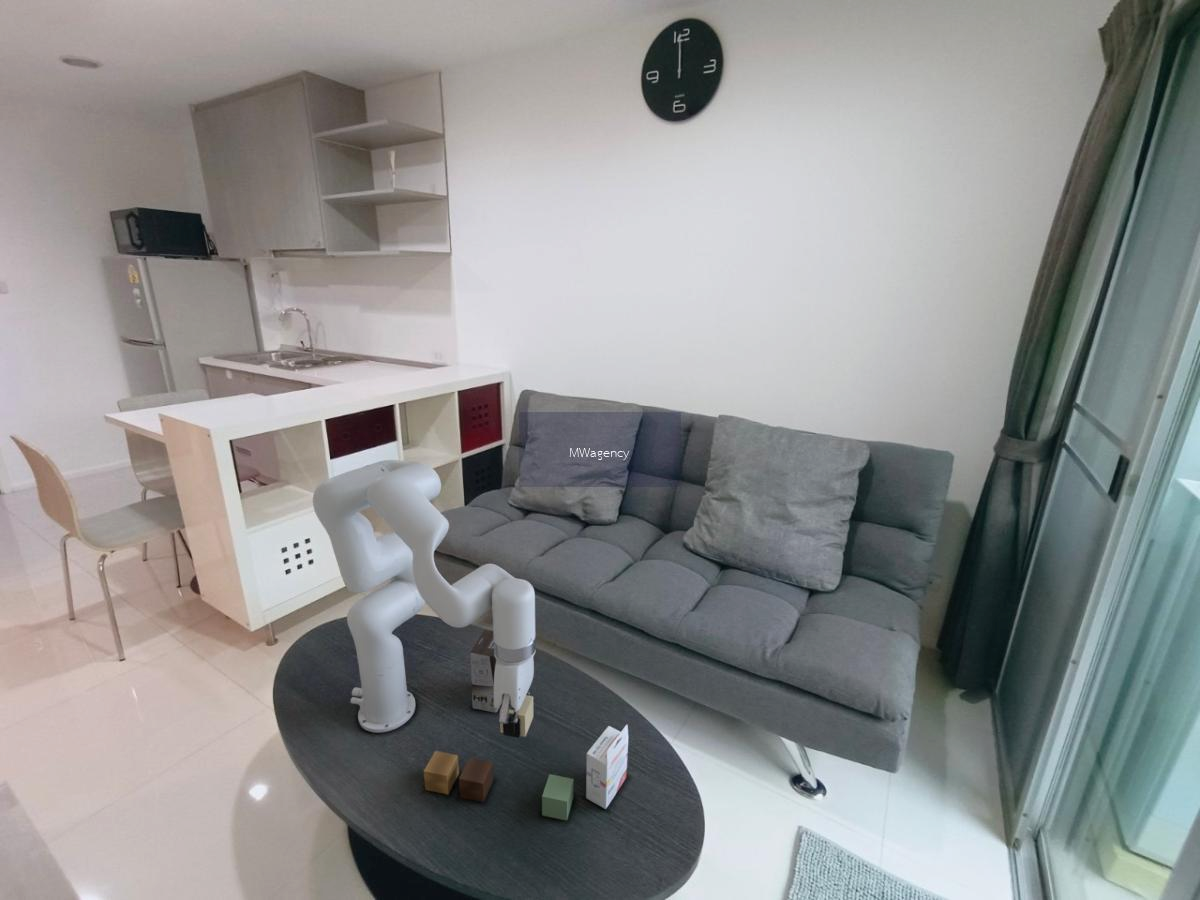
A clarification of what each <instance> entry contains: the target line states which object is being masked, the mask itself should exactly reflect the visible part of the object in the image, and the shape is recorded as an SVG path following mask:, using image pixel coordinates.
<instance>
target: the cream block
mask: <svg viewBox="0 0 1200 900" xmlns="http://www.w3.org/2000/svg"><path fill="white" fill-rule="evenodd" d="M501 708H502V706H500V708H499V714H500V713H501ZM509 715H513V716H514V710H509ZM534 717H535V716H534V696H532V695H526V697H525V699H524V701H523V703H522V705H521V708H520V709H519V713H518V719H520V737H527V734H528V731H529V729H530V727H531V724H532V721H533V719H534ZM499 732H500V733H502V734H503V723H499Z"/></svg>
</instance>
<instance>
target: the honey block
mask: <svg viewBox="0 0 1200 900" xmlns="http://www.w3.org/2000/svg"><path fill="white" fill-rule="evenodd" d="M459 775H460V767H459V755H458V754H454V753H449V752H445V751H439V750H434V753H433V754H432V756H431V758H430V759H429V761H428V762H427V764H426V766H425V768H424V769H423V778H424V789H425V791H430V792H435V793H438V794H443V795H448V796H449V794H450V792H451V790H452V788H453V786H454V785H455V783H456V780H457V778H458V777H459Z"/></svg>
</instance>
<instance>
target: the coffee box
mask: <svg viewBox="0 0 1200 900" xmlns="http://www.w3.org/2000/svg"><path fill="white" fill-rule="evenodd" d="M469 657H470V679H471V699H472V702H471V703H472V709H475V710H480V711H486V712H489V713H495V714H496V713H497V712H498V711H499V709H495V708H494V673H495V665H496V660H497V659H496V658H495V655H494V637H493V630H488V629H484V630H483V631H482V633H481V634H480V636H479V638H478V639H477V642H476V643H474V645H473V647H472V649H471V650H470V652H469Z"/></svg>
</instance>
